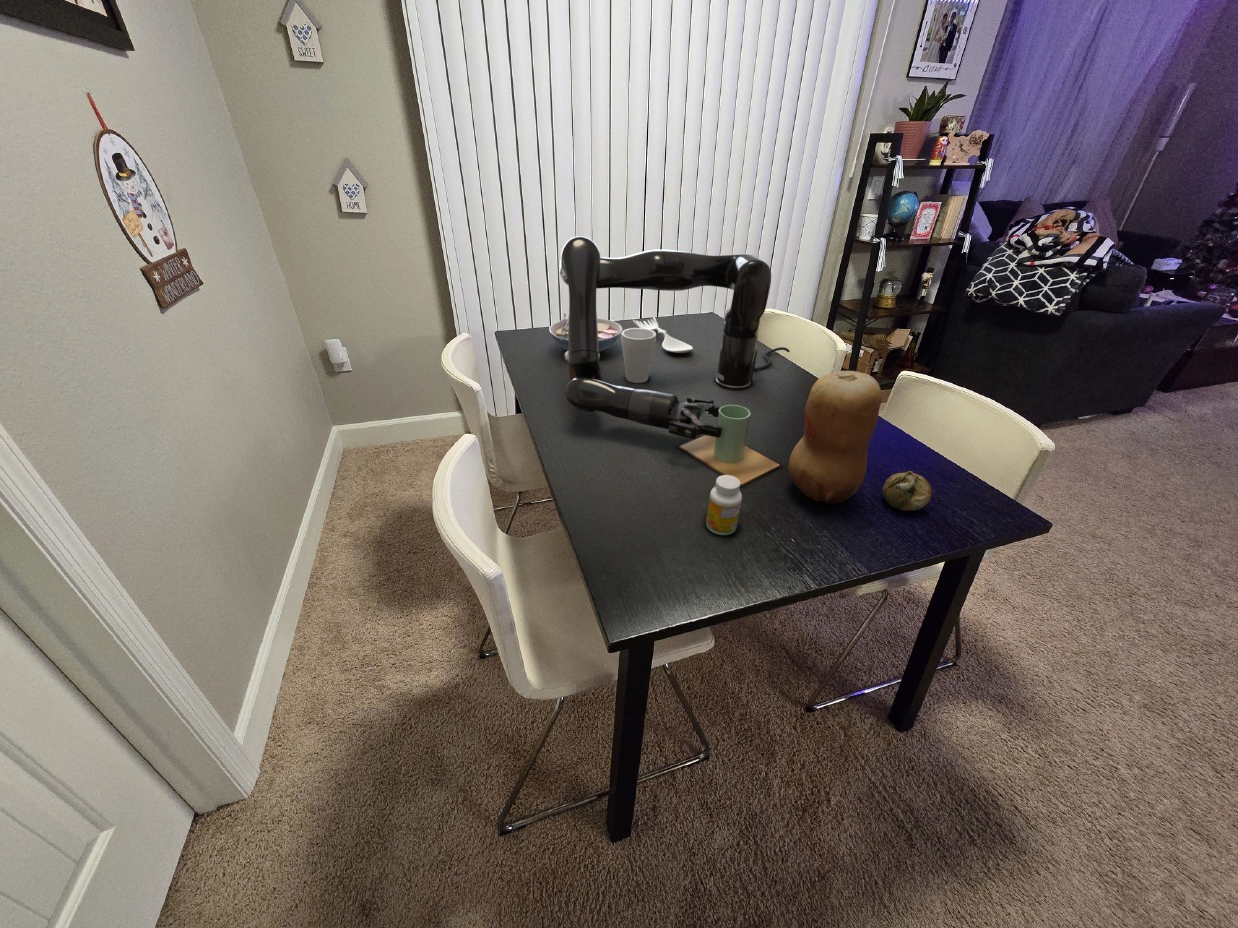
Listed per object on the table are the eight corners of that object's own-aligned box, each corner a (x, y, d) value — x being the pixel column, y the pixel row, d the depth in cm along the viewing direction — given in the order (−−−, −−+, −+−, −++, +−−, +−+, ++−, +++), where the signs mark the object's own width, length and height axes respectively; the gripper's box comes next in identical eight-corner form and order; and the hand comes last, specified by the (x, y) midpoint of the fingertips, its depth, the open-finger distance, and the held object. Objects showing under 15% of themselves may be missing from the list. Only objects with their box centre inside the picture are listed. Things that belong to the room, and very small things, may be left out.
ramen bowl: (621, 366, 149) (622, 340, 145) (545, 365, 149) (543, 338, 145) (622, 338, 170) (622, 314, 165) (555, 337, 170) (553, 313, 166)
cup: (727, 444, 111) (733, 402, 106) (748, 457, 107) (757, 413, 101) (706, 453, 108) (712, 410, 103) (728, 466, 104) (735, 422, 98)
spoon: (654, 325, 182) (654, 315, 180) (697, 356, 157) (698, 345, 155) (631, 328, 179) (631, 318, 177) (672, 359, 154) (672, 348, 152)
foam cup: (650, 386, 138) (653, 340, 131) (617, 383, 139) (618, 338, 132) (655, 373, 145) (658, 329, 138) (624, 370, 147) (625, 326, 140)
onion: (930, 520, 91) (947, 485, 87) (884, 515, 92) (898, 479, 88) (917, 496, 97) (932, 461, 93) (874, 491, 98) (886, 457, 94)
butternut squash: (776, 474, 103) (802, 358, 89) (842, 476, 102) (878, 360, 89) (793, 517, 91) (826, 392, 77) (868, 519, 91) (914, 394, 77)
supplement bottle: (702, 516, 91) (708, 472, 86) (731, 515, 91) (739, 471, 86) (709, 536, 87) (716, 491, 81) (740, 535, 87) (748, 490, 82)
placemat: (679, 447, 111) (679, 445, 111) (717, 432, 117) (717, 430, 117) (741, 486, 99) (741, 484, 99) (779, 466, 105) (780, 464, 105)
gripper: (641, 406, 102) (720, 422, 97) (664, 380, 113) (736, 393, 108) (640, 438, 106) (715, 455, 101) (662, 410, 117) (731, 424, 112)
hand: (726, 423), depth 104 cm, fingers open, 8 cm apart
